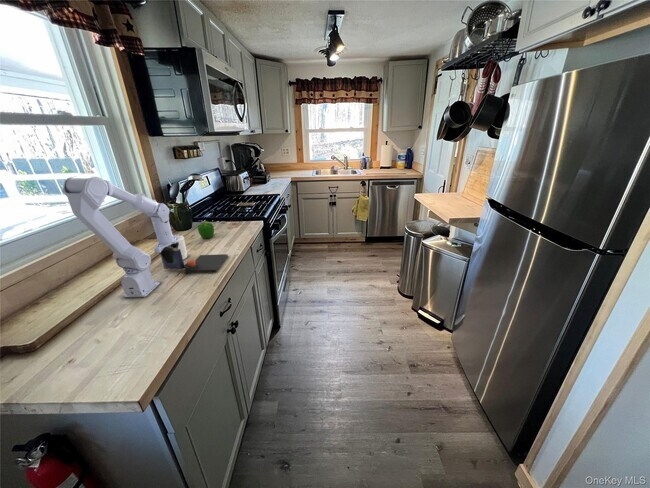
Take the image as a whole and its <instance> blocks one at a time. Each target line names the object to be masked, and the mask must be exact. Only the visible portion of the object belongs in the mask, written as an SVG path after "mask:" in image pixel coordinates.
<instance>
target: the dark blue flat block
mask: <svg viewBox="0 0 650 488" xmlns="http://www.w3.org/2000/svg"><path fill="white" fill-rule="evenodd" d="M167 247H168V248H173V247H171V245H169V246H167ZM159 254H160V253H159ZM159 256H160V258H161V262H162V266H163V269H164V270H185V268H184V265H185V262H184V259H183V258H182V254H181V250H180V249H177V248H173V249H172V258H173V263H167V262H166V260H165V259H164V257H163V256H162V255H161V254H160V255H159Z"/></svg>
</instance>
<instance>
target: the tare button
mask: <svg viewBox="0 0 650 488" xmlns="http://www.w3.org/2000/svg"><path fill="white" fill-rule="evenodd" d="M195 260H196V259H190V260H187V262H186V263H187V264H188V266H194V265H195Z"/></svg>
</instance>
